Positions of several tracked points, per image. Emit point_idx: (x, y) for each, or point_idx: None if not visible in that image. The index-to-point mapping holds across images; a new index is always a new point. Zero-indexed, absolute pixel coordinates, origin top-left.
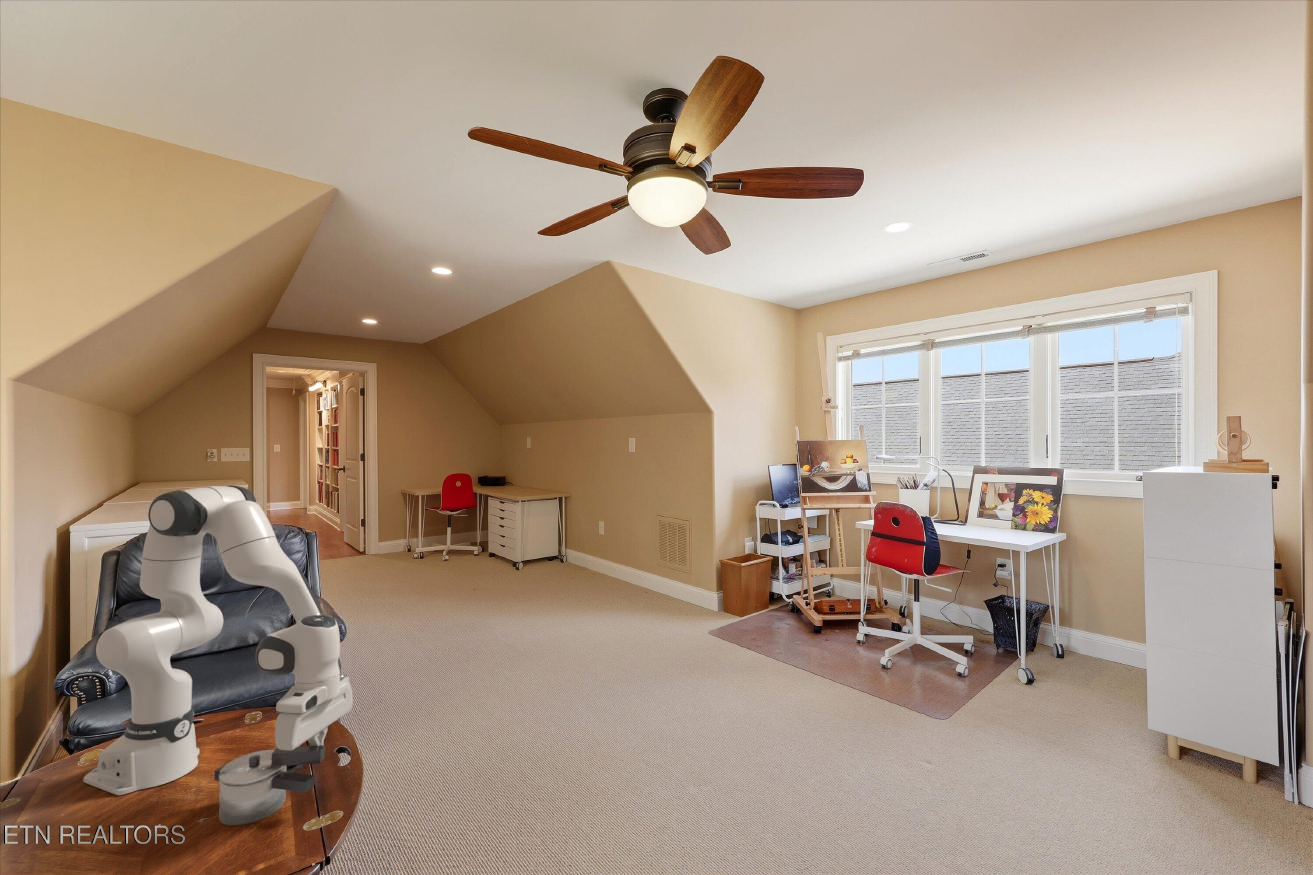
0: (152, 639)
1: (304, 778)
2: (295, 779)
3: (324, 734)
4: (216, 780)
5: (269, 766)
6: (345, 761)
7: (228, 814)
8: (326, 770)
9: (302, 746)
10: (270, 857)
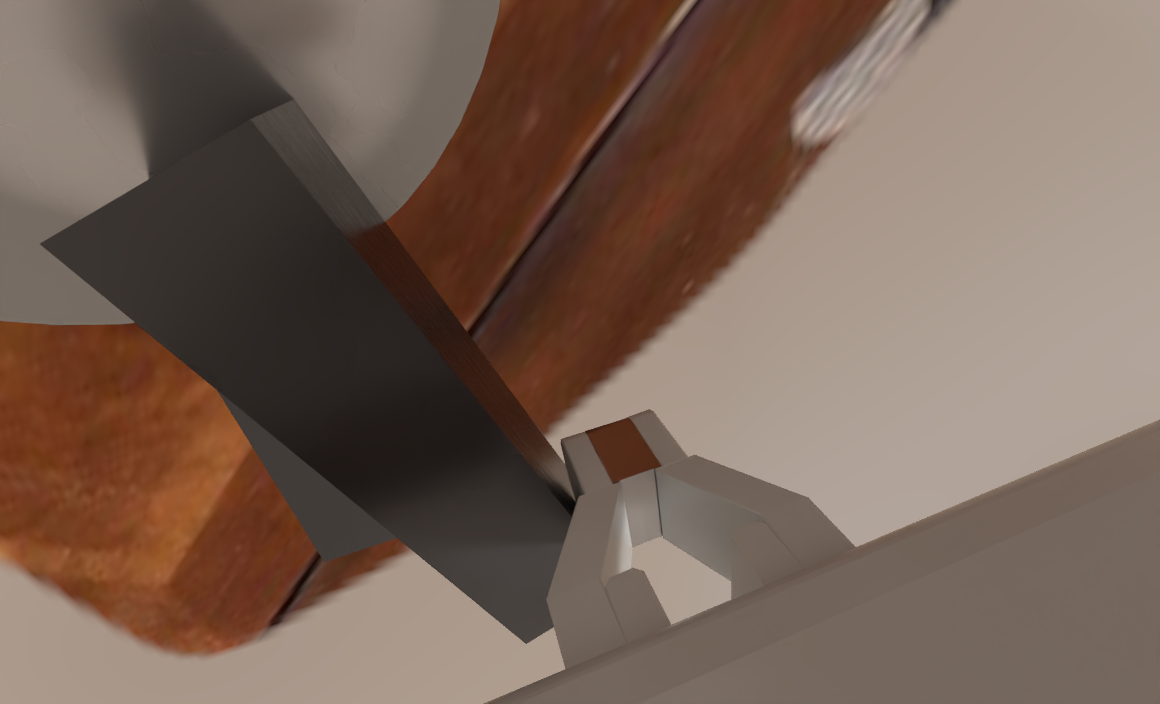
0: None
1: (352, 513)
2: (298, 476)
3: (728, 574)
4: None
5: (128, 155)
6: (835, 108)
7: None
8: (737, 77)
9: (510, 443)
10: (57, 533)
